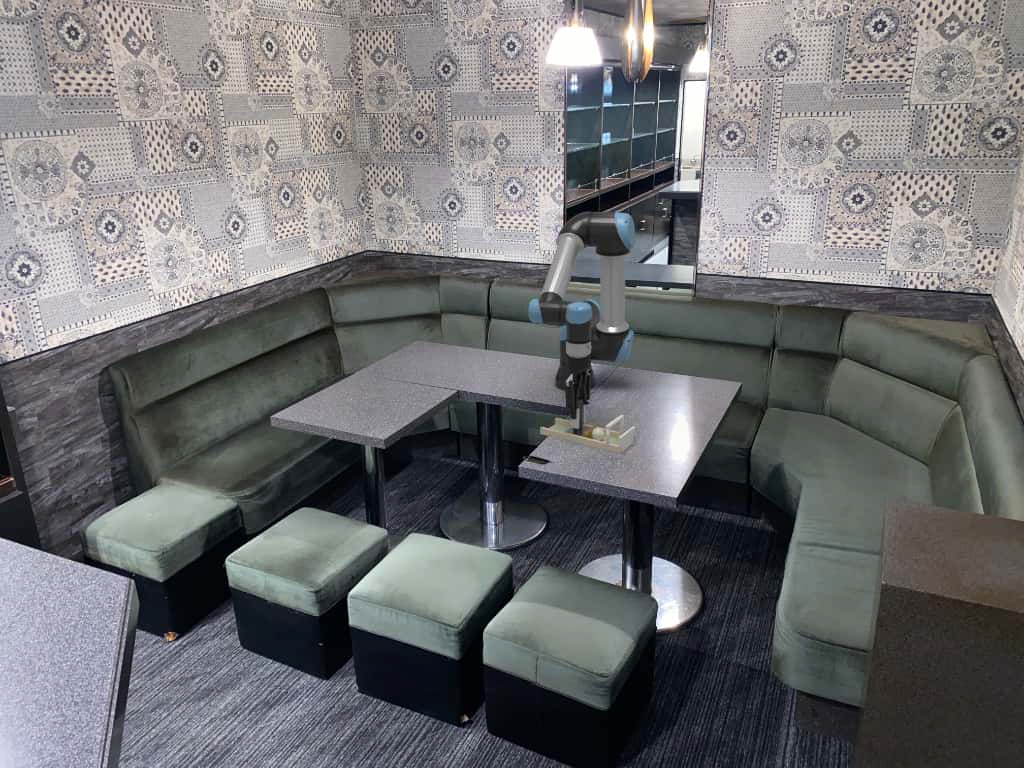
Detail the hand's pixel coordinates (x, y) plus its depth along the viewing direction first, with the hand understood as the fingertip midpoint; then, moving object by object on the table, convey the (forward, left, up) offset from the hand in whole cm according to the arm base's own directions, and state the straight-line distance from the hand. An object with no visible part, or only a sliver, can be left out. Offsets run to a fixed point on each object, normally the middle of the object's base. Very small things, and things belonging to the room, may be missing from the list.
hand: (577, 425), depth 244 cm
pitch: (+3, 0, -5) cm, 6 cm away
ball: (+5, 0, -2) cm, 5 cm away
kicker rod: (+1, 0, -3) cm, 3 cm away
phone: (-3, -14, -5) cm, 15 cm away
